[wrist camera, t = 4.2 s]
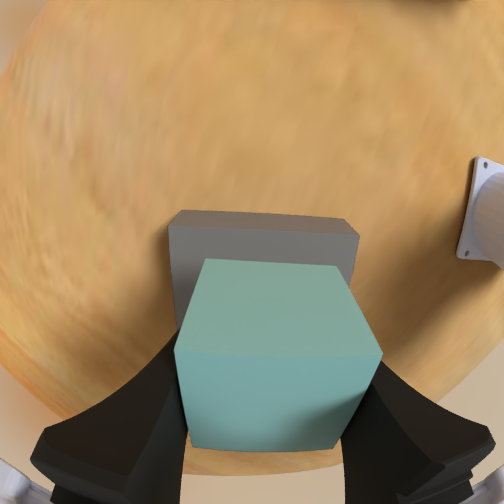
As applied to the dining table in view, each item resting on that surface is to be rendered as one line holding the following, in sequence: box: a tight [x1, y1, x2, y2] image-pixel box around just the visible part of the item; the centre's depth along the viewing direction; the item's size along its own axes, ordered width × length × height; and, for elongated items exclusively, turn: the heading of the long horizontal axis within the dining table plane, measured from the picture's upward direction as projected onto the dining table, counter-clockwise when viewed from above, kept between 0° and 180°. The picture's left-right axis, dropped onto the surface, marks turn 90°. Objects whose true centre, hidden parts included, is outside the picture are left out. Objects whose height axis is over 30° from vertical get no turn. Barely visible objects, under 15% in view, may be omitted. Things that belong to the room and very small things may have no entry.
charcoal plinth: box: [168, 210, 360, 331], centre depth 18 cm, size 10×10×3 cm
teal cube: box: [174, 258, 383, 452], centre depth 9 cm, size 5×5×5 cm
